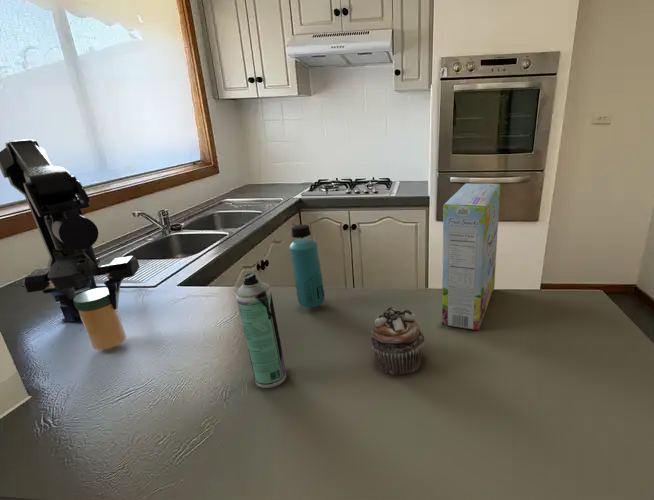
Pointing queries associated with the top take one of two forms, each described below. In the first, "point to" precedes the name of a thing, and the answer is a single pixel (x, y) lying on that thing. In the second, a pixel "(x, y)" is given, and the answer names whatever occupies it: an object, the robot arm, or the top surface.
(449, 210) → the snack box
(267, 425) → the top surface
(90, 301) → the jam lid
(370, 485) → the top surface
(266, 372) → the spray can
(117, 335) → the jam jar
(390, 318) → the cupcake
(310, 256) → the beverage bottle
